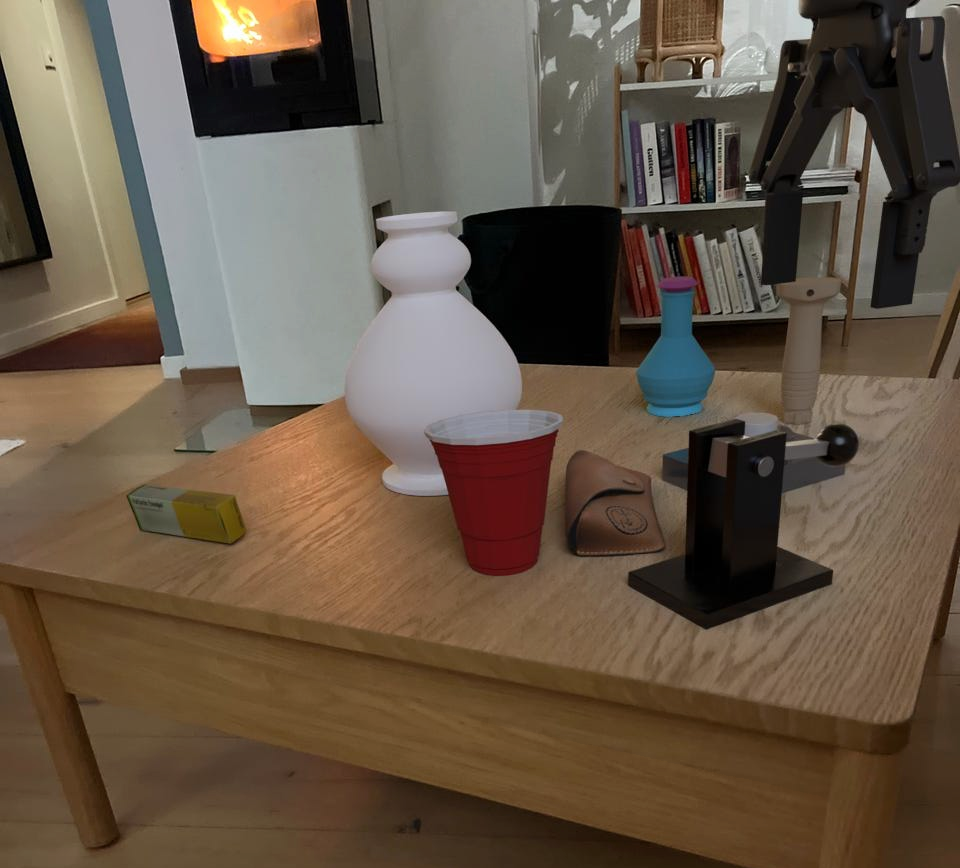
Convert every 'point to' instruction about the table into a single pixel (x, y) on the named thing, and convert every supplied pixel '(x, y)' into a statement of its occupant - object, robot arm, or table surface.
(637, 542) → the sunglasses case
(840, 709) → the table surface
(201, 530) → the medication box
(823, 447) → the lever with black ball
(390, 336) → the decorative vase
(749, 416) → the flush button
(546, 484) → the plastic cup
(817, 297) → the handle
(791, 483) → the block
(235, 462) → the table surface
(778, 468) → the lever bracket
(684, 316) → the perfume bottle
